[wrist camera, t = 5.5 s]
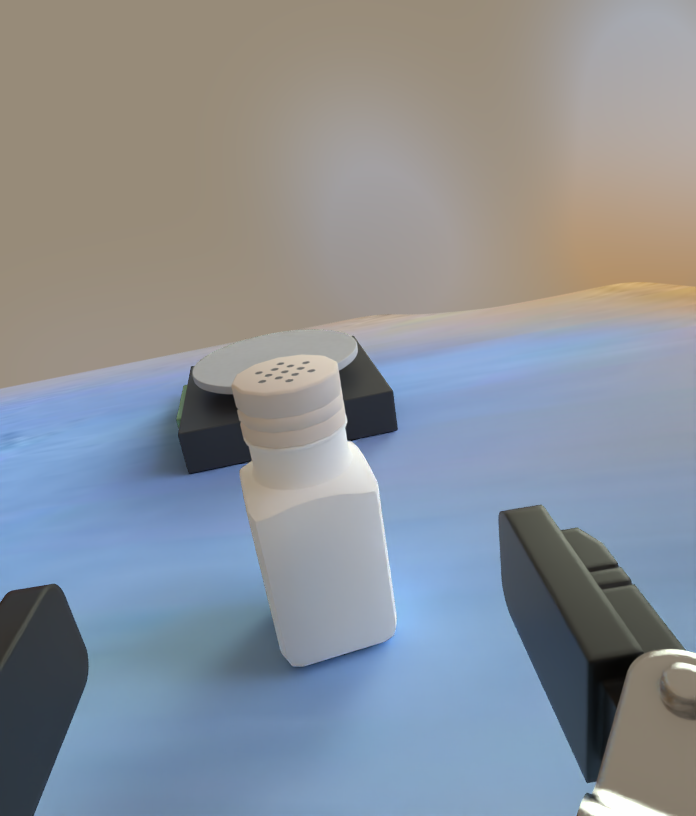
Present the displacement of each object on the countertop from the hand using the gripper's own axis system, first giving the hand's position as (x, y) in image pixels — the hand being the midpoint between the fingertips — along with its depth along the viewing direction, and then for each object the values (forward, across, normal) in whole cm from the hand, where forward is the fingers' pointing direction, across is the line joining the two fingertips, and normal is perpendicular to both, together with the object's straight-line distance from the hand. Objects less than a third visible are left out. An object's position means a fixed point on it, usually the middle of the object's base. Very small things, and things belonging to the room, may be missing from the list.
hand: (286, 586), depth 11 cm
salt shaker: (+8, 0, +8) cm, 12 cm away
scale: (+28, +2, +8) cm, 29 cm away
